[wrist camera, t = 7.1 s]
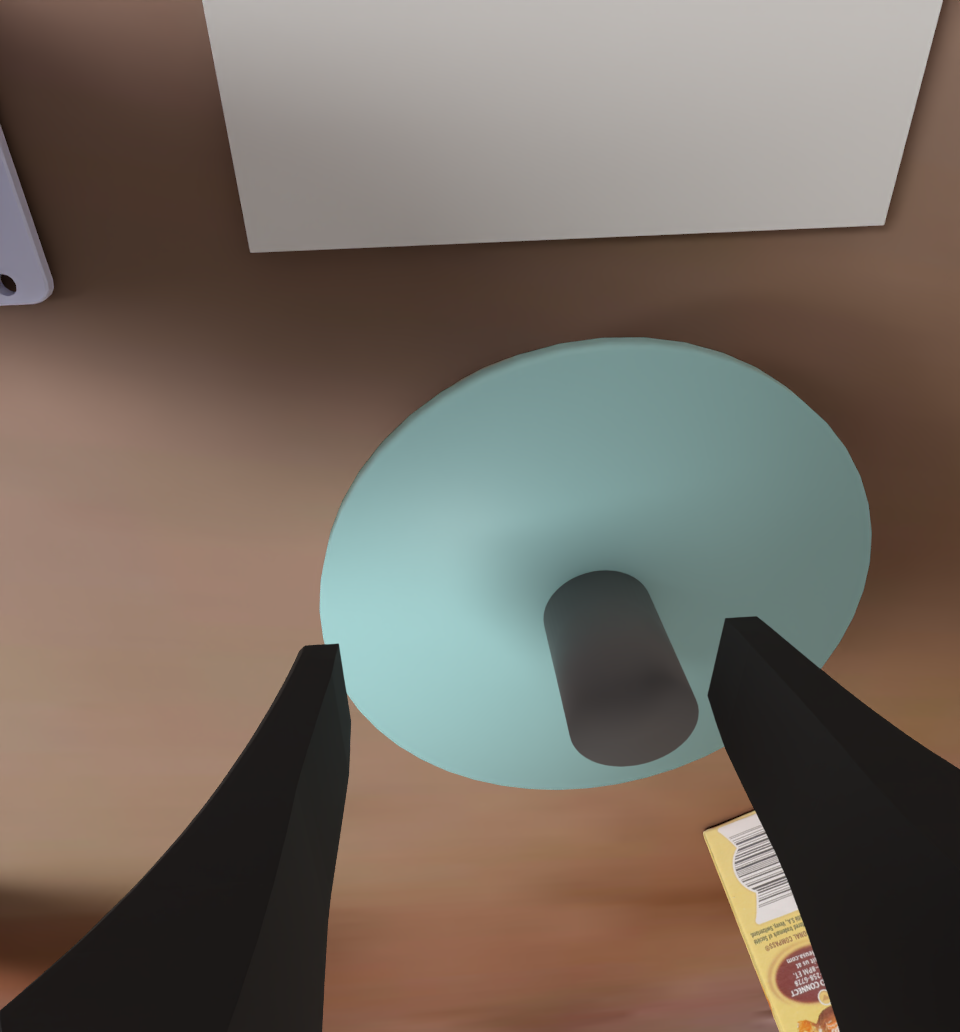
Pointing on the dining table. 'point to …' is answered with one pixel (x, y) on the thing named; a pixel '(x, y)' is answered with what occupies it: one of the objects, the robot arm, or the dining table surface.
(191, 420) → the dining table surface
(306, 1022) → the robot arm
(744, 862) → the candy box
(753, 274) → the dining table surface
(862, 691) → the dining table surface
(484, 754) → the lid
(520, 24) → the mat
